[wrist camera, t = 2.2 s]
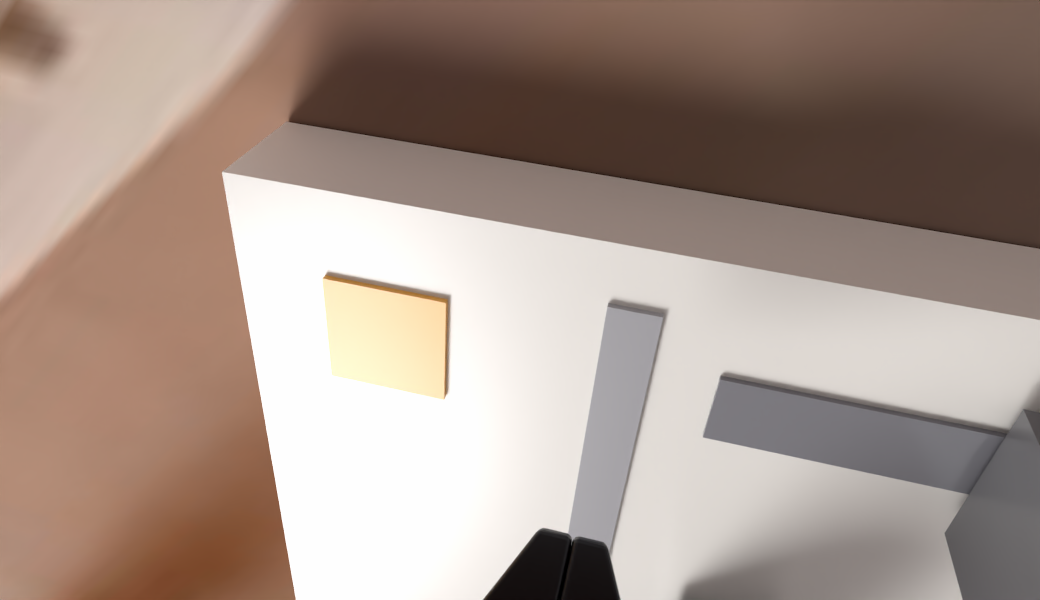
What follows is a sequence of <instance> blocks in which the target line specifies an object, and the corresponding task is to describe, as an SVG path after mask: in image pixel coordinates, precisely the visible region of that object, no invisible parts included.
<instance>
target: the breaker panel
mask: <svg viewBox="0 0 1040 600" xmlns="http://www.w3.org/2000/svg"><path fill="white" fill-rule="evenodd" d="M222 174H223V180H224V186H225V192H226V198H227V203H228V209H229V215H230V221H231V226H232V232H233V238H234V244H235V250H236V255H237V261H238V267H239V273H240V278H241V284H242V290H243V296H244V302H245V307H246V313H247V319H248V325H249V330H250V336H251V342H252V348H253V354H254V359H255V365H256V371H257V377H258V382H259V388H260V394H261V400H262V406H263V411H264V417H265V423H266V429H267V434H268V440H269V446H270V452H271V458H272V463H273V469H274V475H275V481H276V486H277V492H278V498H279V504H280V510H281V515H282V521H283V527H284V533H285V538H286V544H287V550H288V556H289V562H290V567H291V573H292V579H293V585H294V590H295V596H296V600H483V599H484V597H485V596H486V595H487V594H488V592H489V591H490V590H491V589H492V587H493V586H494V585H495V583H496V582H497V581H498V580H499V578H500V577H501V576H502V575H503V573H504V572H505V571H506V570H507V568H508V567H509V566H510V564H511V563H512V562H513V561H514V559H515V558H516V557H517V556H518V554H519V553H520V552H521V550H522V549H523V548H524V547H525V545H526V544H527V543H528V542H529V540H530V539H531V538H532V537H533V535H534V534H535V533H536V532H537V531H538V530H539V529H541V528H548V529H552V530H556V531H560V532H564V533H568V534H569V535H570V536H571V537H572V541H573V539H574V538H575V537H577V536H581V537H585V538H590V539H594V540H598V541H602V542H604V543H605V544H606V545H607V547H608V549H609V553H610V557H611V561H612V565H613V570H614V574H615V578H616V582H617V586H618V591H619V595H620V599H621V600H963V599H962V595H961V592H960V588H959V584H958V581H957V577H956V573H955V570H954V566H953V563H952V559H951V555H950V552H949V548H948V544H947V541H946V537H945V532H946V530H947V528H948V527H949V525H950V524H951V522H952V521H953V519H954V517H955V516H956V514H957V513H958V511H959V510H960V508H961V506H962V505H963V503H964V502H965V500H966V498H967V497H968V495H969V494H970V492H971V491H972V489H973V487H974V486H975V484H976V483H977V481H978V480H979V478H980V476H981V475H982V473H983V472H984V470H985V468H986V467H987V465H988V464H989V462H990V461H991V459H992V457H993V456H994V454H995V453H996V451H997V450H998V448H999V446H1000V445H1001V443H1002V442H1003V440H1004V439H1005V437H1006V435H1007V434H1008V432H1009V431H1010V429H1011V427H1012V426H1013V424H1014V423H1015V421H1016V420H1017V418H1018V416H1019V415H1020V413H1021V412H1022V410H1023V409H1026V410H1031V411H1036V412H1040V249H1038V248H1032V247H1026V246H1020V245H1014V244H1008V243H1002V242H996V241H990V240H984V239H978V238H972V237H967V236H961V235H955V234H949V233H943V232H937V231H931V230H925V229H919V228H913V227H907V226H901V225H895V224H890V223H884V222H878V221H872V220H866V219H860V218H854V217H848V216H842V215H836V214H830V213H824V212H818V211H813V210H807V209H801V208H795V207H789V206H783V205H777V204H771V203H765V202H759V201H753V200H747V199H741V198H735V197H730V196H724V195H718V194H712V193H706V192H700V191H694V190H688V189H682V188H676V187H670V186H664V185H658V184H653V183H647V182H641V181H635V180H629V179H623V178H617V177H611V176H605V175H599V174H593V173H587V172H581V171H576V170H570V169H564V168H558V167H552V166H546V165H540V164H534V163H528V162H522V161H516V160H510V159H504V158H499V157H493V156H487V155H481V154H475V153H469V152H463V151H457V150H451V149H445V148H439V147H433V146H427V145H422V144H416V143H410V142H404V141H398V140H392V139H386V138H380V137H374V136H368V135H362V134H356V133H350V132H345V131H339V130H333V129H327V128H321V127H315V126H309V125H303V124H297V123H291V122H285V123H284V124H283V125H281V126H280V127H279V128H277V129H276V130H275V131H274V132H272V133H271V134H270V135H269V136H267V137H266V138H265V139H263V140H262V141H261V142H260V143H258V144H257V145H256V146H254V147H253V148H252V149H251V150H249V151H248V152H247V153H245V154H244V155H243V156H242V157H240V158H239V159H238V160H237V161H235V162H234V163H233V164H231V165H230V166H229V167H228V168H226V169H225V170H224V171H222Z"/></svg>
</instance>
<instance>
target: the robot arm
mask: <svg viewBox="0 0 1040 600" xmlns="http://www.w3.org/2000/svg"><path fill="white" fill-rule="evenodd" d="M483 600H621V599H620V595H619V591H618V586H617V582H616V578H615V574H614V570H613V565H612V561H611V557H610V553H609V549H608V547H607V545H606V544H605V543H604V542H602V541H598V540H594V539H590V538H585V537H581V536H577V537H575V538H574V539H573V541H572V537H571V536H570V535H569V534H568V533H564V532H560V531H556V530H552V529H548V528H541V529H539V530H538V531H537V532H536V533H535V534H534V535H533V537H532V538H531V539H530V540H529V542H528V543H527V544H526V545H525V547H524V548H523V549H522V550H521V552H520V553H519V554H518V556H517V557H516V558H515V559H514V561H513V562H512V563H511V564H510V566H509V567H508V568H507V570H506V571H505V572H504V573H503V575H502V576H501V577H500V578H499V580H498V581H497V582H496V583H495V585H494V586H493V587H492V589H491V590H490V591H489V592H488V594H487V595H486V596H485V597H484V599H483Z"/></svg>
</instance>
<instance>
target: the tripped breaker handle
mask: <svg viewBox="0 0 1040 600" xmlns="http://www.w3.org/2000/svg"><path fill="white" fill-rule="evenodd" d="M945 537H946V541H947V544H948V548H949V552H950V555H951V559H952V563H953V566H954V570H955V573H956V577H957V581H958V584H959V588H960V592H961V595H962V599H963V600H1040V412H1036V411H1031V410H1026V409H1023V410H1022V412H1021V413H1020V415H1019V416H1018V418H1017V420H1016V421H1015V423H1014V424H1013V426H1012V427H1011V429H1010V431H1009V432H1008V434H1007V435H1006V437H1005V439H1004V440H1003V442H1002V443H1001V445H1000V446H999V448H998V450H997V451H996V453H995V454H994V456H993V457H992V459H991V461H990V462H989V464H988V465H987V467H986V468H985V470H984V472H983V473H982V475H981V476H980V478H979V480H978V481H977V483H976V484H975V486H974V487H973V489H972V491H971V492H970V494H969V495H968V497H967V498H966V500H965V502H964V503H963V505H962V506H961V508H960V510H959V511H958V513H957V514H956V516H955V517H954V519H953V521H952V522H951V524H950V525H949V527H948V528H947V530H946V532H945Z"/></svg>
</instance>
